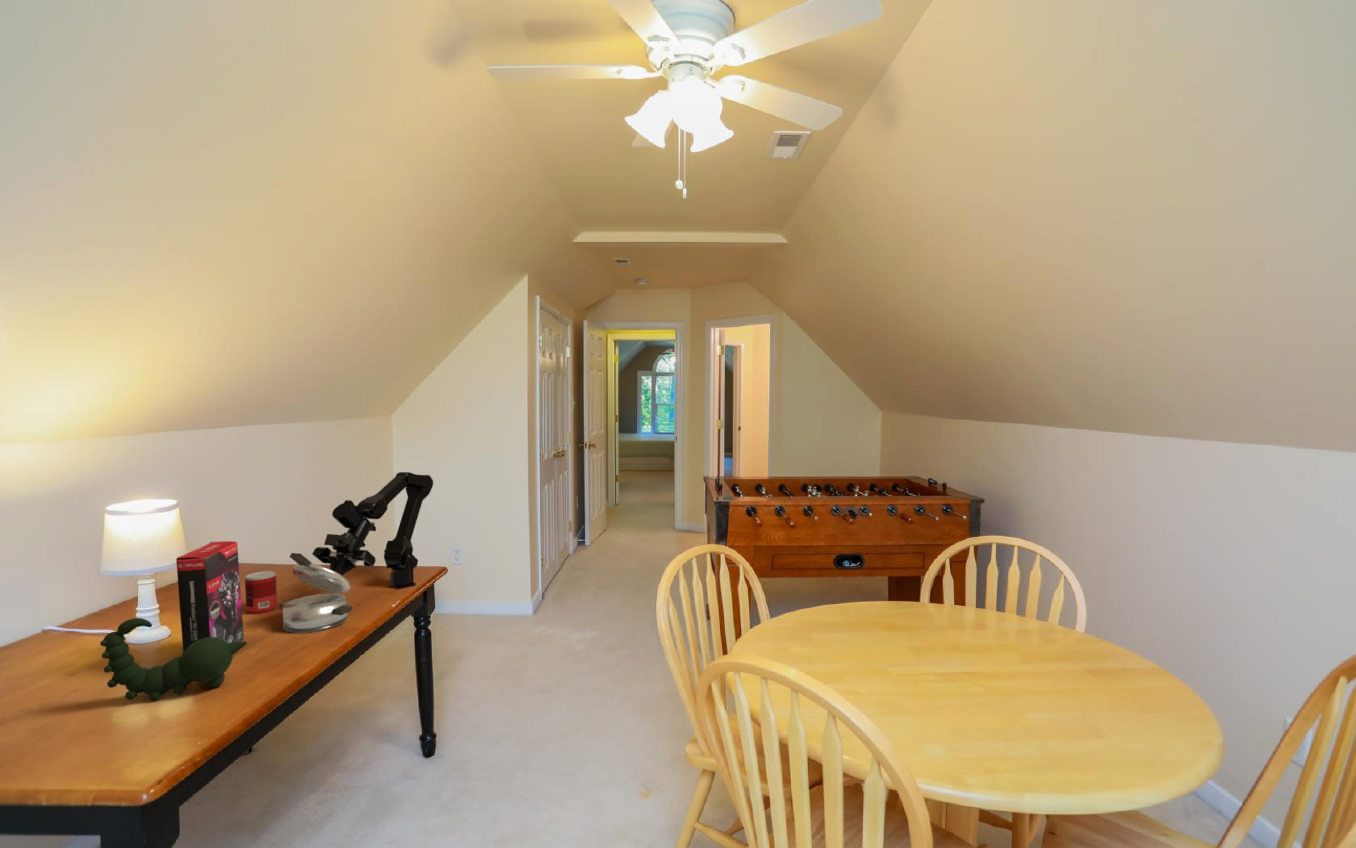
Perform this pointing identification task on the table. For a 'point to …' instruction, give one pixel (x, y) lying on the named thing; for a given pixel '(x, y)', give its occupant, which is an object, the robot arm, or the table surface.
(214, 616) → the graphics card box
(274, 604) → the canned food
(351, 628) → the table surface
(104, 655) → the toy figurine
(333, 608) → the cooker pot
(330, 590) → the cooker lid
